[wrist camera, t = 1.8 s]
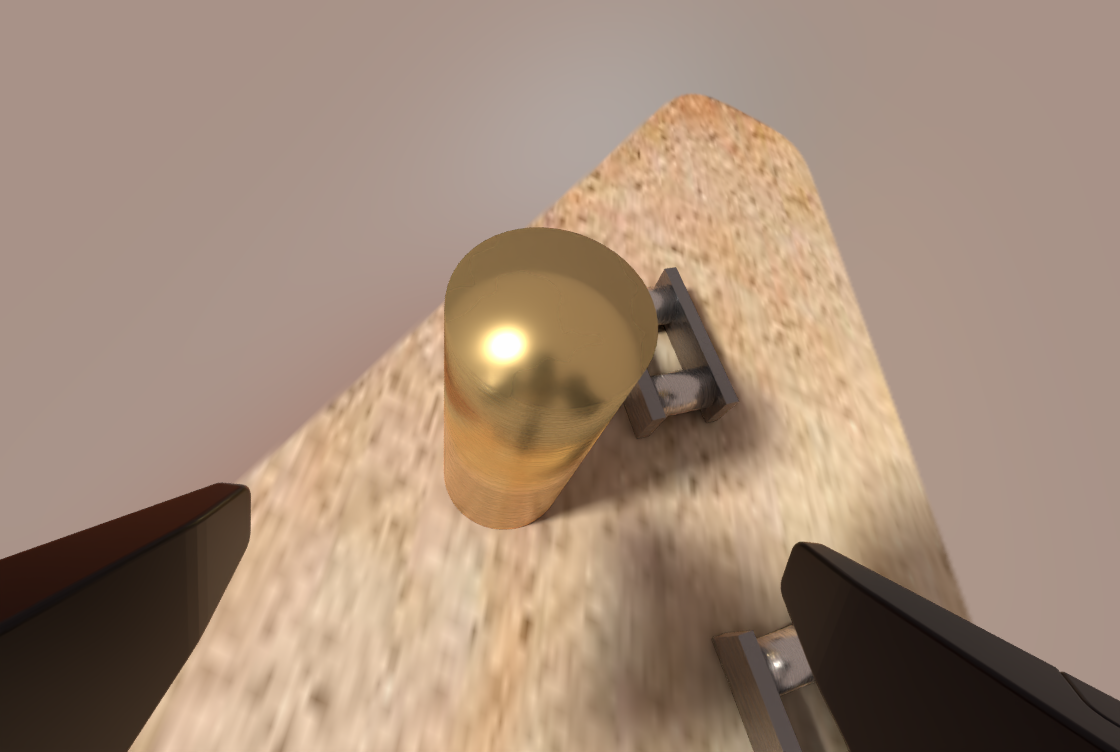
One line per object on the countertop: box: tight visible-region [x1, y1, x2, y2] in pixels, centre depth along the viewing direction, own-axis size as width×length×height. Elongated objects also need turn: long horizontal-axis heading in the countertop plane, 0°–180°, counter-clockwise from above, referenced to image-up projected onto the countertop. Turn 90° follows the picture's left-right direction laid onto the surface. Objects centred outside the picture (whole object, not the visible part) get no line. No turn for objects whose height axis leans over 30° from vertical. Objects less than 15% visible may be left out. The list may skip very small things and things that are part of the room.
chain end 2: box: [712, 625, 850, 752], centre depth 18 cm, size 7×4×2 cm, turn 16°
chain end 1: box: [623, 267, 739, 439], centre depth 24 cm, size 7×4×2 cm, turn 16°
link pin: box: [444, 227, 658, 529], centre depth 16 cm, size 5×5×11 cm
